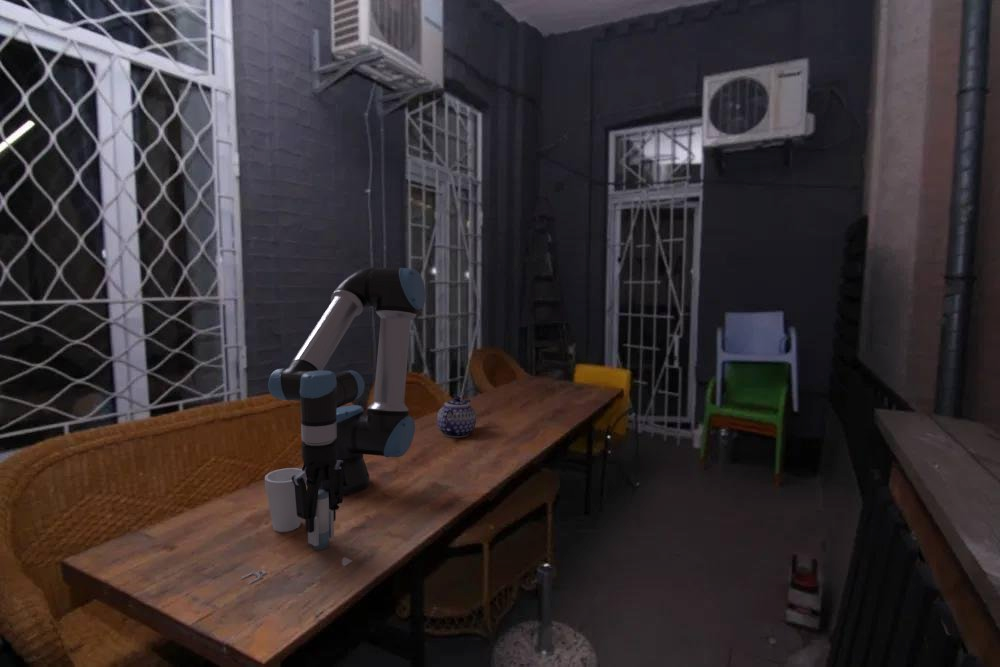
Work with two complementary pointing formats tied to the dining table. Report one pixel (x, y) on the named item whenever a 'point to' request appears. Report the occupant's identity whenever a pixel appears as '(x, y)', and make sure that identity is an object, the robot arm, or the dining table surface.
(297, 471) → the foam cup
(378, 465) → the dining table surface
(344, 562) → the small grey pieces
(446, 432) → the blue ceramic jar
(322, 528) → the cylinder
